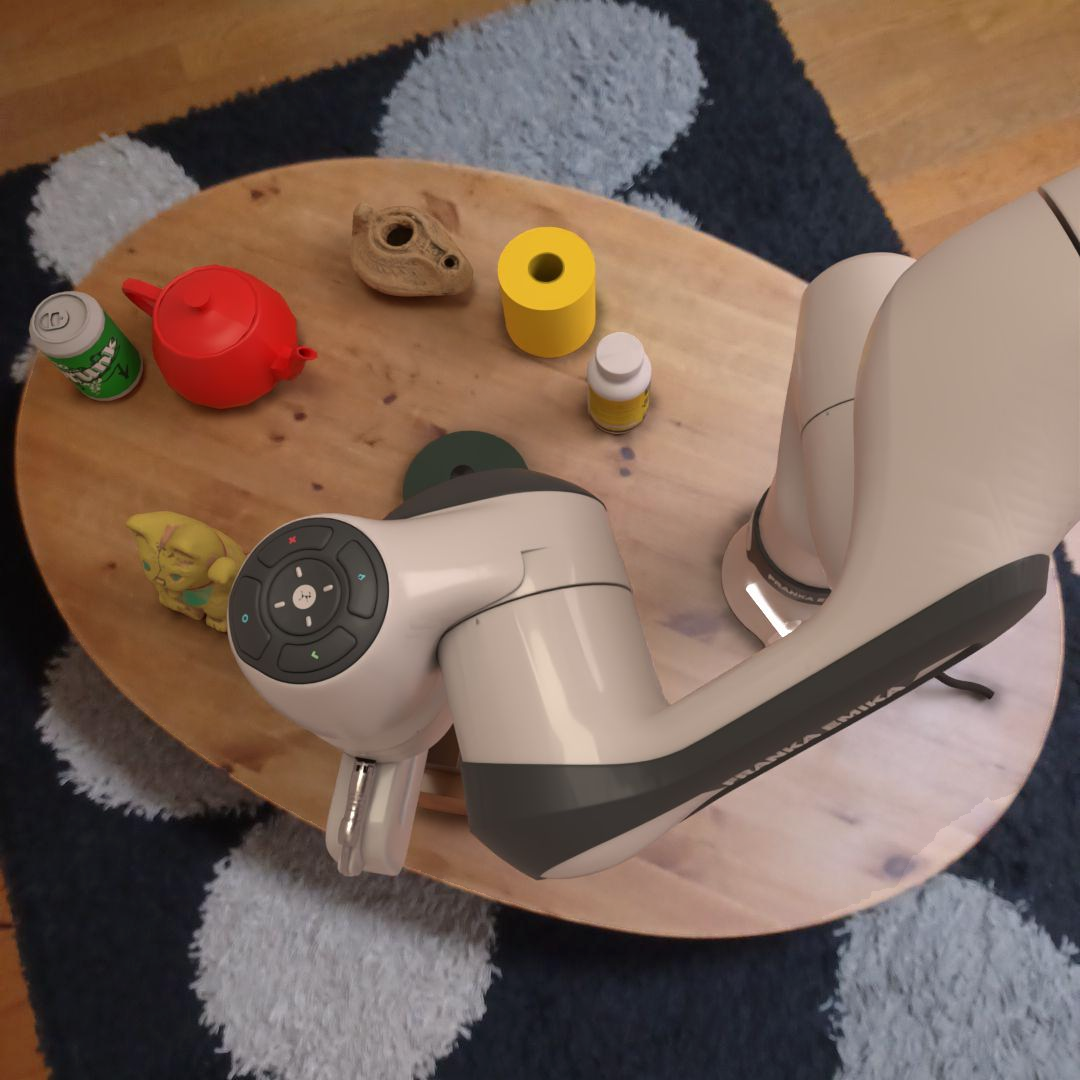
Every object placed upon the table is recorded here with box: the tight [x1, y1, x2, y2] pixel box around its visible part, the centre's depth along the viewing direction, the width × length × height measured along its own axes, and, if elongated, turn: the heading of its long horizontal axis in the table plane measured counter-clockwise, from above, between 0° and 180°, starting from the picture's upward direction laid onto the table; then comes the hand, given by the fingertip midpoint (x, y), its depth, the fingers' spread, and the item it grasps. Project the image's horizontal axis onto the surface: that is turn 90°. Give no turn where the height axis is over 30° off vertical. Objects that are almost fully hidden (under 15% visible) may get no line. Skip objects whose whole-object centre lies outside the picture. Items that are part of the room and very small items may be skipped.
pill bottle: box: [586, 331, 653, 435], centre depth 102 cm, size 6×6×12 cm
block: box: [424, 724, 462, 775], centre depth 75 cm, size 4×4×4 cm
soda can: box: [28, 290, 144, 402], centre depth 107 cm, size 8×8×12 cm
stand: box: [417, 769, 468, 817], centre depth 86 cm, size 8×8×20 cm
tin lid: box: [402, 430, 529, 503], centre depth 103 cm, size 13×13×5 cm
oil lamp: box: [349, 201, 474, 297], centre depth 111 cm, size 11×15×8 cm
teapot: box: [121, 263, 319, 410], centre depth 106 cm, size 25×16×12 cm, turn 64°
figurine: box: [124, 510, 247, 633], centre depth 96 cm, size 11×9×15 cm
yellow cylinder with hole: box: [497, 226, 597, 359], centre depth 107 cm, size 10×10×9 cm
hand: (421, 720), depth 68 cm, fingers open, 8 cm apart
